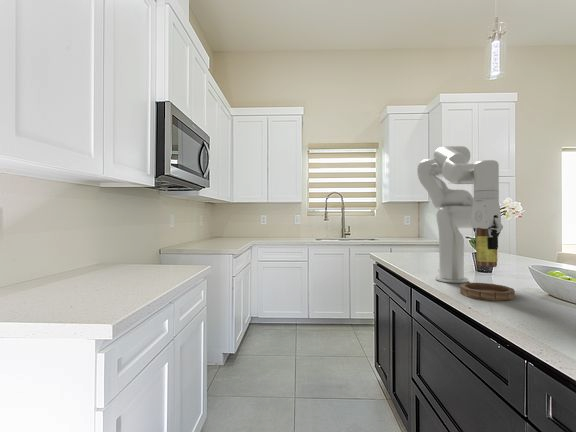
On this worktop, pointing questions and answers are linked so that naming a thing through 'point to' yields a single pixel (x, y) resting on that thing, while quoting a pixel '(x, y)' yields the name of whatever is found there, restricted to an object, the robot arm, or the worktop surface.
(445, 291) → the worktop surface
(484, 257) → the sauce bottle
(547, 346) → the worktop surface
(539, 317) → the worktop surface
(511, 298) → the walnut bowl
